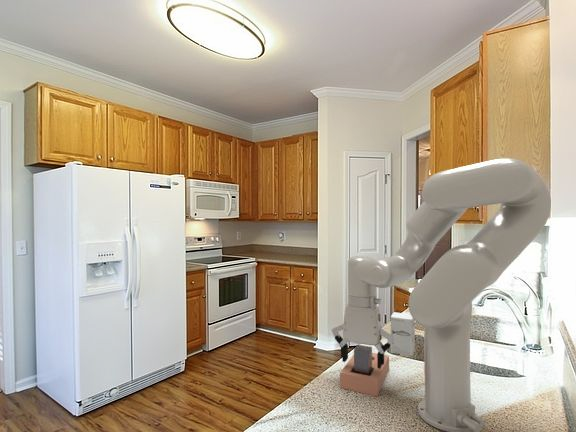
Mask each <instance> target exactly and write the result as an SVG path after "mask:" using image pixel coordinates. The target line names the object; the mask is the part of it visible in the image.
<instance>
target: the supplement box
mask: <svg viewBox="0 0 576 432" xmlns="http://www.w3.org/2000/svg"><path fill="white" fill-rule="evenodd" d="M415 323H416V321H415V320H414V319H413V317H412V316H411V314H410V313H403V312H396V311H393V313H392V314H391V315H390V334H391V335H392V336H394V338H395V339H394V341H393V343H392V344H391V346H390V354H398V355H402V356H407V357H411V358H412V357H413V355H414V353H415V350H416V347H415V346H416V345H415V343H416V340H415V339H416V337H415V336H416V335H415V334H416V333H415V331H416V329H415V328H416V326H415V325H416V324H415Z"/></svg>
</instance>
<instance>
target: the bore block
mask: <svg viewBox="0 0 576 432" xmlns="http://www.w3.org/2000/svg"><path fill="white" fill-rule="evenodd" d="M377 354H378V353H375V352H372V373H371V375H370V376H368V375H363V374H358V373H354V354H352V356H351V357H350V359H349V360H347V362H346V364H345V365H344V367H343V368H342V369H341V371H340V372H339V389H344V390H348V391H353V392H358V393H361V394H366V395H371V396H375V397H379V394H380V391H381V389H382V387H383V384H384V381H385V379H386V377H387V375H388V372H389V370H390V356H389V355H387V354H384V365H382V366H381V368H380V369H379V368H378V367H377Z"/></svg>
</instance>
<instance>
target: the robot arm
mask: <svg viewBox="0 0 576 432" xmlns="http://www.w3.org/2000/svg"><path fill="white" fill-rule="evenodd" d="M421 196H422V199H423V202H422V203H421V204H420V206H418V208H417V209H416V210H415V211H414V213H412V215H411V216H410V217H409V218H408V220H407V221H406V230H407V236H406V239H405V240H404V242H403V244H402V245H401V246H400V247H399V248H398V250H397V251H396V252H394V254H393V255H392V256H388V257H382V258H381V257H380V258H374V257H371V256H363V255H361V256H360V255H359V256H352V257H349V258H348V261H347V304H346V305H345V309H344V314H343V324H340V325H337V326H335V327H332V329H331V332H332V335H333V337H334V340H335V342H337V343H338V345H339V347H340V357H341V358H342V362H344V363H345V362H346V361H348V358H349V345H348V342H349V343H356V344H359V345H365V346H368V345H369V346H373V347H375V349H376V350H377V351H378V352H377V353H376V354H377V367H378V368H379V369H380V368H381V366H382V365H384V355H385V353H386V351H388V350H389V349H391V344H392V343H393V341H394V339H395V338H394V336H392V335H391V333H389V332H387V331H386V330H385V329H382V319H381V311H380V308H379V307H380V306H378V305H379V304H380V305H381V304H382V298H379V297H377V293H376V288H379V289H380V288H381V289H386V288H389V287H390V288H391V287H394V286H396V285H400V284H403V283H406V282H407V281H408V280H410V279H411V277H413V275H415V274H416V272H418V270H419V269H420V268H421V267H422V266H423V265H424V263H425V262H426V261H427V260H428V258H429V257H430V255H431V253H432V252H433V251H434V249H435V246H436V245H437V244H438V243H439V241H440V240H441V239H442V238H443V237H444V236H445V234H446V233H447V232H448V231H449V230H450V229H451V228H452V227H453V226H454V224H455V223H457V221H458V220H459V219H460V218H461V217H462V216H463V215H464V214H465V213H466V211H468V209H469V208H477V207H484V206H491V205H498V204H500V206H499V209H498V210H497V211H496V213H494V215H493V216H491V218H489V219H488V220H487V222H485V224H484V225H483V226H482V228H481V229H480V230H479V231H478V232H477V233H476V234H475V235H474V236H473V237H472V238H471V239H470V240H469V241H468V242H467V243H465V244H460V245H456V246H455V247H452V248H449V250H447V251H446V252H445V253H444V254H442V256H441V257H439V259H438V260H437V261H436V262H435V263H434V264H433V266H432V267H431V268H430V269H429V270H428V271H427V272H426V273H425V275H424V276H423V277H422V278H421V279H420V281H419V282H417V284H416V286H415V287H414V288H413V289H412V290H411V292H410V294H409V297H408V302H407V303H408V305H407V306H408V310H409V314H411V316H412V317H413V319H414V320H415V323H417V325H419V326H422V327H424V330H423V331H424V333H423V335H424V336H423V340H424V341H423V344H424V345H423V346H424V347H423V354H424V356H423V360H424V364H423V366H424V399H422V400H421V401H420V402H419V403H418V404H417V412H418V414H419V416H420V418H421V419H422V420H423V421H424V422H425V423H427V424H428V425H430V426H432V427H434V428H436V429H439V430H441V431H444V432H482V428H483V427H484V426H485V420H484V419H482V418H481V417H479V416H478V414H477V413H476V406H475V404H473V403H471V402H472V401H471V400H472V398H471V397H472V396H471V395H472V393H471V391H472V390H471V389H472V388H471V323H472V313H473V302H472V301H474V300H475V299H476V298H477V297H478V296H479V295H480V294H481V293H482V292H483V291H484V290H485V289H486V288H489V287H490V286H491V285H493V284H495V282H497V280H498V279H499V278H500V277H501V276H502V275H503V273H504V272H505V271H506V270H507V269H508V267H510V266H511V264H512V263H513V262H514V261H515V260H516V259H517V258H518V257H519V256H520V255H521V254H522V253H523V252H524V250H526V248H527V247H528V246H529V245H530V244H531V243H532V242H533V241H534V240H536V239H535V238H537V237H538V235H539V234H540V233H541V232H542V230H543V229H544V227H545V226H546V223H547V222H548V219H549V218H550V214H551V209H552V207H551V206H552V199H551V195H550V191H549V189H548V187H547V185H546V183H545V181H544V179H543V178H542V177H541V175H540V174H539V173H538V172H537V171H536V170H535V169H534V168H532V166H530V165H528V164H527V163H526V162H525V161H523V160H519V159H517V158H510V157H509V158H508V157H503V158H501V157H500V158H497V159H492V160H487V161H482V162H477V163H474V164H469V165H465V166H459V167H455V168H452V169H445V170H443V171H439V172H437V173H434V174H432V175H431V176H430V177H429V178H427V180H426V181H425V182H424V184H423V186H422V190H421ZM377 304H378V305H377ZM340 331H342V336H341V335H340V334H339V333H340ZM382 338H385V339H386V340H387V341H386V343H384V344H383V342H382V341H381V340H382Z"/></svg>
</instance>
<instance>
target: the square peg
mask: <svg viewBox="0 0 576 432" xmlns="http://www.w3.org/2000/svg"><path fill="white" fill-rule="evenodd" d="M372 353H373V346H368V345H363V344H357V345H356V347H354V349H353V355H354V373H358V374H363V375H368V376H370V375H371V373H372Z"/></svg>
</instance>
